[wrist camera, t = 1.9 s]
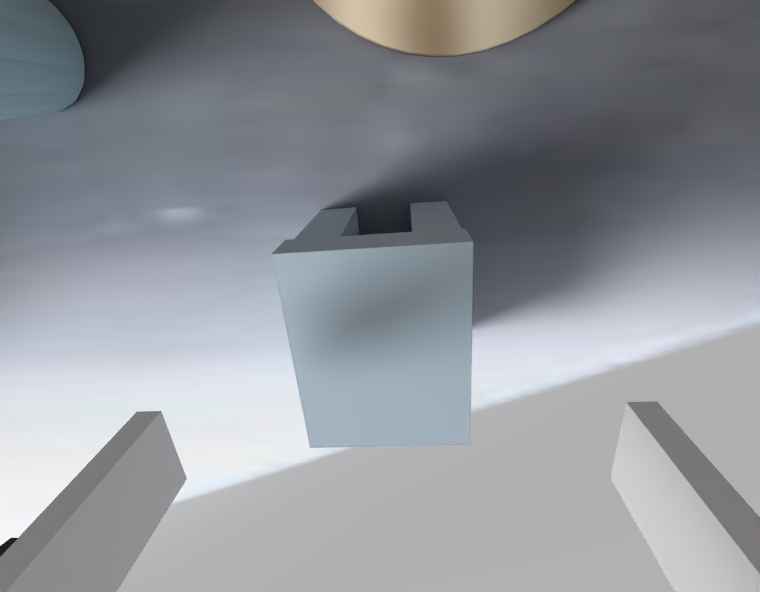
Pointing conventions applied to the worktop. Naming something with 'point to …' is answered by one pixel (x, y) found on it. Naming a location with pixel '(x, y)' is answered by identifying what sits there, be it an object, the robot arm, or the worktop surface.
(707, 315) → the worktop surface
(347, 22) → the wooden disc
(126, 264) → the worktop surface
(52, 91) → the cup
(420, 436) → the grey slotted block
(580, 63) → the worktop surface
